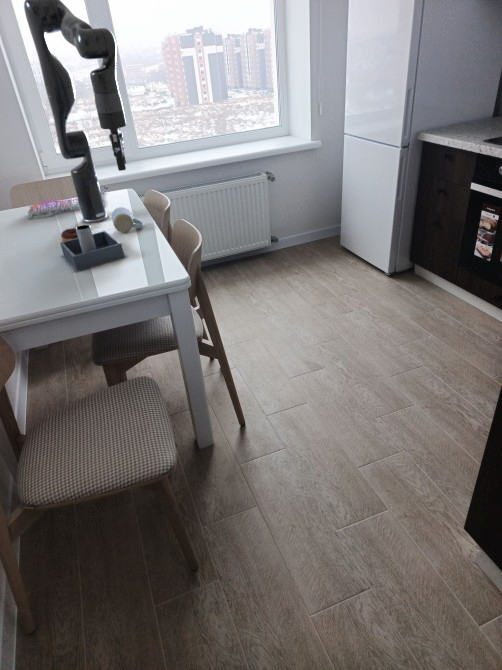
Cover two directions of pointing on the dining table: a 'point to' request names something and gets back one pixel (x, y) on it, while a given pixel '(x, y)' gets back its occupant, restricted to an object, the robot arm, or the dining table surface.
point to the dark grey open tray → (104, 252)
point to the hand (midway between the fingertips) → (122, 167)
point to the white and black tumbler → (85, 238)
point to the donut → (69, 234)
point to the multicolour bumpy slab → (46, 205)
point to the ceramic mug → (124, 220)
